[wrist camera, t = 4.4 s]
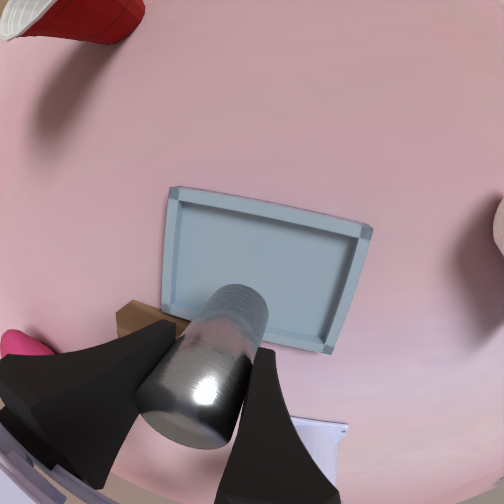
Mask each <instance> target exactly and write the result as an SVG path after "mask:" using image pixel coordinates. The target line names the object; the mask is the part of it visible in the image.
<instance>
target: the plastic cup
mask: <svg viewBox="0 0 504 504" xmlns="http://www.w3.org/2000/svg"><path fill="white" fill-rule="evenodd" d="M144 14H145V5H144V4H143V1H142V0H9V1H8V3H7V5H6V7H5V9H4V11H3V13H2V16H1V19H0V39H1V40H3V41H4V42H5V41H10V40H12V39H14V38H18V37H27V36H35V37H36V36H47V37H57V38H65V39H72V40H78V41H89V42H94V43H99V44H113V43H116V42H118V41H120V40H122V39H124V38H125V37H127V36H128V35H129V34H130V33H131V32H133V31H134V29H135V28H136V27H137V26H138V24H139V23H140V22H141V20H142V18H143V16H144Z"/></svg>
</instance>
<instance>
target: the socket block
mask: <svg viewBox="0 0 504 504" xmlns="http://www.w3.org/2000/svg"><path fill="white" fill-rule="evenodd" d="M162 319H165V320H168V321H171V322H174V323H176V340H177V339H178V338H179V337H180V335H181V334H182V333H183V331H184V330H185V329H186V328H187V326H188V325H189V324H190V323H191V320H187V319H184V318H181V317H178V316H175V315H172V314H168V313H165V312H162V311H161V309H158V308H155V307H152V306H149V305H146V304H143V303H140V302H137V301H135V300H132V301H130V302H129V303H128V304H127V305H125V306H124V307H123V308H121V309H120V310H119V311H118V312H116V321H117V331H118V338H121V337H123V336H126V335H128V334H130V333H132V332H135V331H137V330H139V329H142V328H144V327H146V326H148V325H150V324H152V323H155V322H157V321H159V320H162Z"/></svg>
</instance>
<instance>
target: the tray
mask: <svg viewBox="0 0 504 504" xmlns="http://www.w3.org/2000/svg"><path fill="white" fill-rule="evenodd" d="M372 233H373V228H371V227H370V226H369V225H367V224H363V223H359V222H356V221H352V220H348V219H343V218H339V217H335V216H331V215H327V214H323V213H318V212H314V211H309V210H305V209H300V208H296V207H291V206H287V205H282V204H277V203H272V202H267V201H262V200H257V199H252V198H247V197H242V196H236V195H231V194H225V193H219V192H214V191H208V190H202V189H196V188H189V187H183V186H175V187H170V188H169V197H168V206H167V216H166V227H165V239H164V253H163V270H162V297H161V311H162V312H165V313H168V314H172V315H175V316H178V317H181V318H184V319H187V320H191V321H192V320H193V319H194V318H195V316H196V315H197V314H198V313H199V311H200V310H201V309H202V307H203V306H204V305H205V304H206V302H207V301H208V300H209V299H210V297H211V296H212V295H213V294H214V292H215V291H216V290H218V289H219V288H221V287H222V286H225V285H229V284H242V285H245V286H248V287H250V288H252V289H254V290H255V291H257V292H258V293H259V294H260V295H261V296H262V297H263V299H264V300H265V302H266V304H267V307H268V311H269V317H268V322H267V325H266V329H265V332H264V335H263V339H262V340H264V341H268V342H272V343H276V344H281V345H285V346H290V347H295V348H299V349H304V350H309V351H314V352H319V353H325V354H330V355H331V354H332V351H333V349H334V347H335V344H336V342H337V339H338V337H339V334H340V331H341V329H342V326H343V324H344V321H345V318H346V315H347V313H348V310H349V307H350V304H351V301H352V299H353V296H354V293H355V290H356V287H357V284H358V280H359V277H360V274H361V271H362V268H363V264H364V261H365V258H366V254H367V251H368V247H369V244H370V240H371V236H372Z"/></svg>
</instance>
